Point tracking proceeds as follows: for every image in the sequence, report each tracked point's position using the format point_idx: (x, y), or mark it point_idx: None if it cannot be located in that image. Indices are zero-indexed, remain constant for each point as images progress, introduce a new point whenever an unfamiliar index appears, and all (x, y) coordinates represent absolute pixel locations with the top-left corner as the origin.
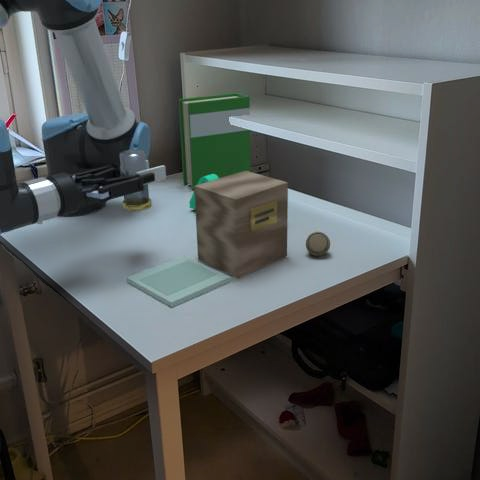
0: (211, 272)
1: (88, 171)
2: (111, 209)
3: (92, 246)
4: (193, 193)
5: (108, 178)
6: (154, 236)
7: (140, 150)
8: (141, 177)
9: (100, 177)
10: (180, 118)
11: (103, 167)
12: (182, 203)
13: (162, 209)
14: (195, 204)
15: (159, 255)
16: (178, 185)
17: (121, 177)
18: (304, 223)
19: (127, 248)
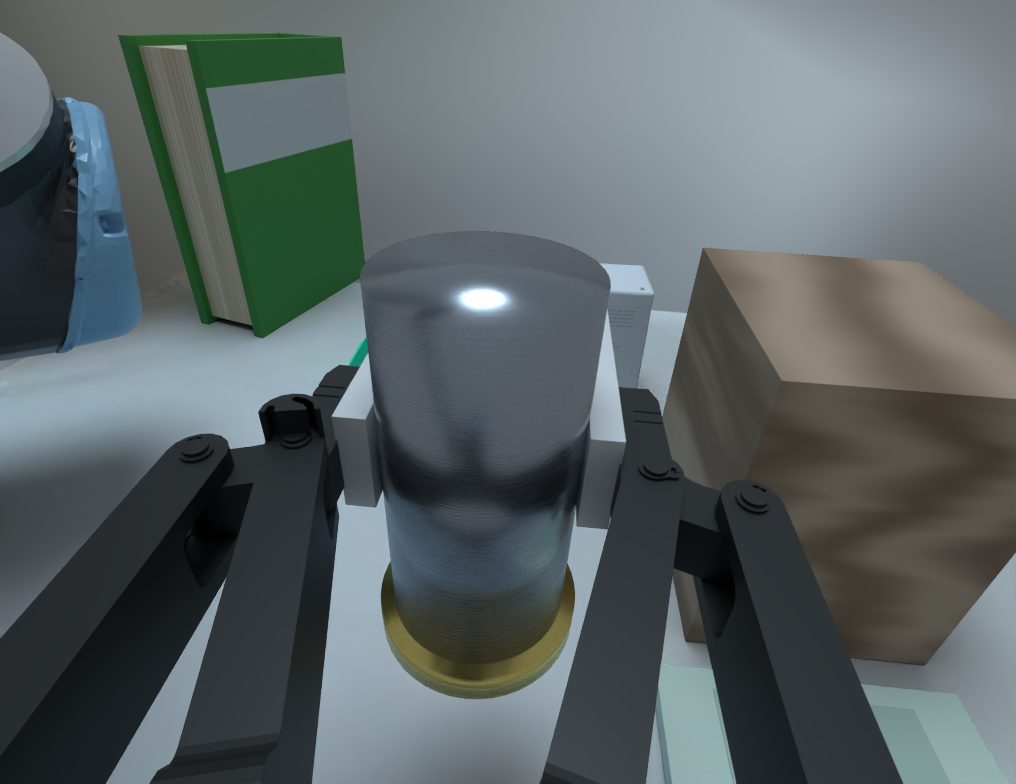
0: (886, 713)
1: (29, 662)
2: (20, 514)
3: None
4: (356, 357)
5: (319, 590)
6: (370, 590)
7: (478, 234)
8: (767, 491)
9: (300, 677)
10: (145, 110)
11: (166, 484)
12: (280, 389)
13: (242, 436)
14: (753, 462)
15: (534, 709)
16: (188, 329)
17: (617, 582)
18: (654, 352)
19: (345, 752)
